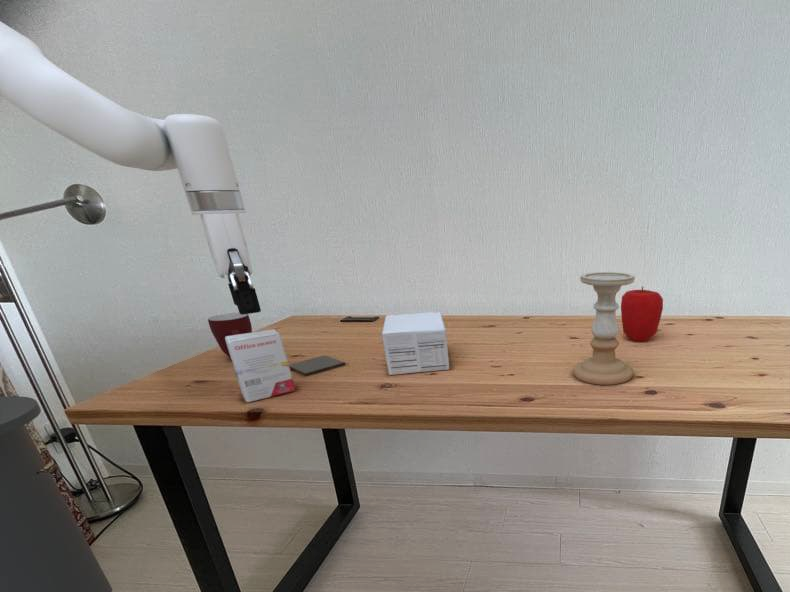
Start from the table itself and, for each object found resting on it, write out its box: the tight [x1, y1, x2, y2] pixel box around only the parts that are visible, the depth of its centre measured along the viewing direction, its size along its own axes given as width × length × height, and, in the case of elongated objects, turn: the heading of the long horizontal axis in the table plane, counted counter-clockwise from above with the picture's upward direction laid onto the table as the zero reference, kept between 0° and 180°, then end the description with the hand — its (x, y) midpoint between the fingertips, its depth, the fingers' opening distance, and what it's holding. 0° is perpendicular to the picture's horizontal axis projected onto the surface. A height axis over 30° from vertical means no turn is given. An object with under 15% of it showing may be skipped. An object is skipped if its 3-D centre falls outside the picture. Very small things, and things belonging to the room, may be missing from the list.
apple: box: [620, 286, 664, 343], centre depth 117 cm, size 10×10×14 cm
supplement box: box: [381, 311, 450, 376], centre depth 103 cm, size 17×13×9 cm
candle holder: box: [573, 271, 636, 386], centre depth 91 cm, size 12×12×20 cm
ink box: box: [225, 328, 296, 403], centre depth 86 cm, size 9×5×12 cm, turn 128°
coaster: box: [288, 354, 346, 377], centre depth 103 cm, size 9×9×1 cm
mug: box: [207, 312, 253, 360], centre depth 107 cm, size 10×8×10 cm
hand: (247, 308), depth 81 cm, fingers open, 9 cm apart
